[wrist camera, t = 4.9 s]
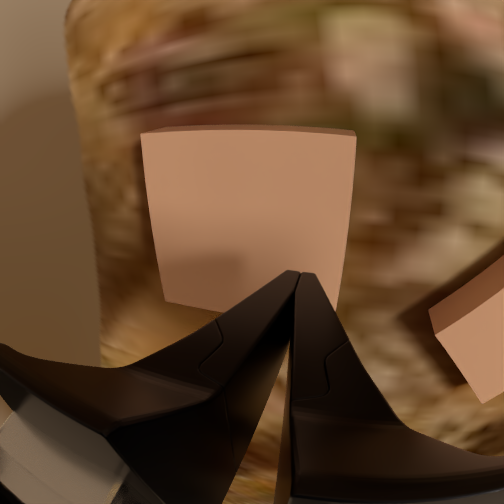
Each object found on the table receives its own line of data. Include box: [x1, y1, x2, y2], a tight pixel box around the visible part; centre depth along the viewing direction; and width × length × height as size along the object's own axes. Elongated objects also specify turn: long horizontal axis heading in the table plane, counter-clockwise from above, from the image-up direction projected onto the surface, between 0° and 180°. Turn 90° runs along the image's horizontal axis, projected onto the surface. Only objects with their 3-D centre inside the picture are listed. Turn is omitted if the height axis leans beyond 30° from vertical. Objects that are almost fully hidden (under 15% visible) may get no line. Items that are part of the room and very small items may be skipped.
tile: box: [141, 125, 356, 313], centre depth 13 cm, size 2×8×8 cm
